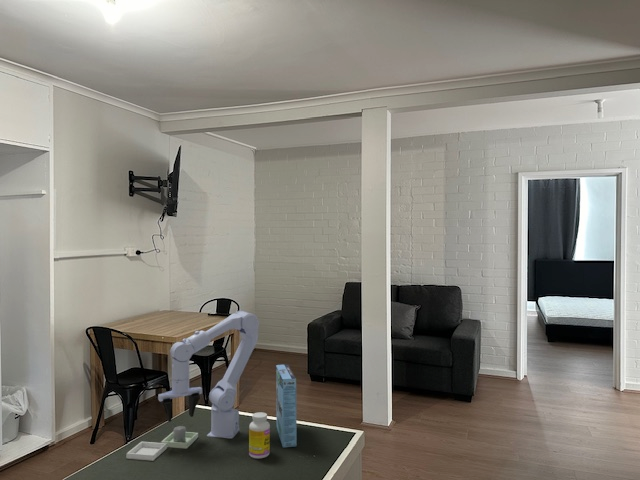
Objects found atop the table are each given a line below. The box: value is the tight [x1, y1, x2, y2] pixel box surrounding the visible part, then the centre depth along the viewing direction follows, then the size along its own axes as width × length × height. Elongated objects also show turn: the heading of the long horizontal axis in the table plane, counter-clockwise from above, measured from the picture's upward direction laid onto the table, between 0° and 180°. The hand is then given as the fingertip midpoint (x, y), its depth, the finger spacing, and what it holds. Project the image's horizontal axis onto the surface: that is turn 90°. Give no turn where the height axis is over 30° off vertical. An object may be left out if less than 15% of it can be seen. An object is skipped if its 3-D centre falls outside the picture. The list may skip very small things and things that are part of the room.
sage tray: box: [160, 430, 199, 449], centre depth 162 cm, size 9×9×2 cm
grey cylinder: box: [173, 425, 187, 443], centre depth 162 cm, size 4×4×5 cm
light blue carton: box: [275, 364, 298, 448], centre depth 169 cm, size 20×5×23 cm, turn 11°
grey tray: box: [125, 441, 168, 462], centre depth 153 cm, size 9×9×2 cm
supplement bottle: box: [248, 411, 271, 459], centre depth 154 cm, size 7×7×13 cm
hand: (180, 418), depth 162 cm, fingers open, 7 cm apart
